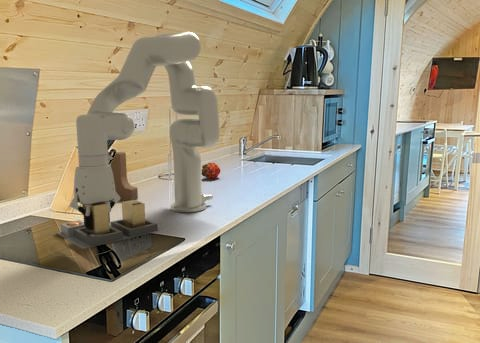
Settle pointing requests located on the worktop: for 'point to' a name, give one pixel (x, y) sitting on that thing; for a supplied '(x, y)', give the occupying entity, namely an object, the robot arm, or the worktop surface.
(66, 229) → the grey compartment tray
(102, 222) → the block
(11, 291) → the worktop surface
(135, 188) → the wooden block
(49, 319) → the worktop surface
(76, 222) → the button
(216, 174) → the red bumpy rounded lump
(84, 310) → the worktop surface
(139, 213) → the block
